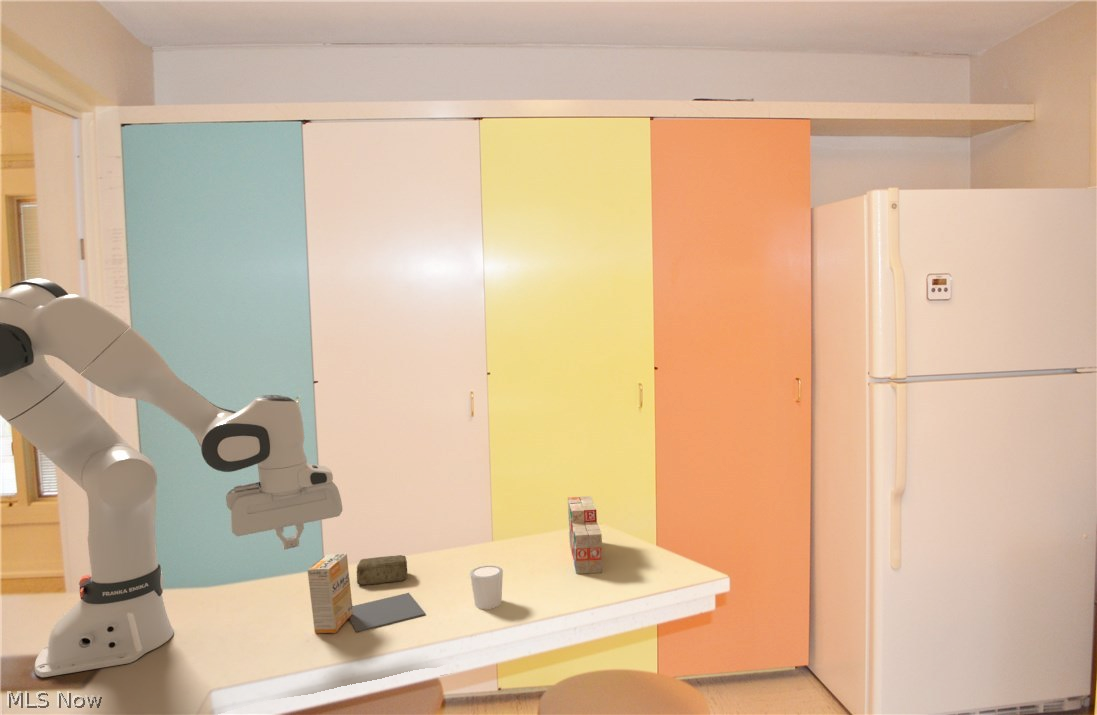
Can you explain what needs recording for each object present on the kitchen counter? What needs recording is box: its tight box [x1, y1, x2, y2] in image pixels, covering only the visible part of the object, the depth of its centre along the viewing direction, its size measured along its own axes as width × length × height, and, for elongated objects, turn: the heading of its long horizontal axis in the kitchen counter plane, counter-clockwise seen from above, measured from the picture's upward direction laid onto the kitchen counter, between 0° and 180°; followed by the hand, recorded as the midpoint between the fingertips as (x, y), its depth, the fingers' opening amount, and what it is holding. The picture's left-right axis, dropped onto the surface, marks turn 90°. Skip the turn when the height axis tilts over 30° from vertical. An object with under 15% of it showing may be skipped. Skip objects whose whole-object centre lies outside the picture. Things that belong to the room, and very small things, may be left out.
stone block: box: [356, 554, 408, 586], centre depth 162 cm, size 6×12×5 cm, turn 100°
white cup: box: [469, 565, 504, 610], centre depth 147 cm, size 7×7×7 cm
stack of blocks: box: [566, 495, 603, 575], centre depth 171 cm, size 21×6×12 cm, turn 2°
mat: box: [348, 592, 426, 633], centre depth 145 cm, size 14×12×1 cm
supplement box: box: [307, 553, 353, 634], centre depth 140 cm, size 8×5×13 cm, turn 171°
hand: (291, 547), depth 136 cm, fingers closed
